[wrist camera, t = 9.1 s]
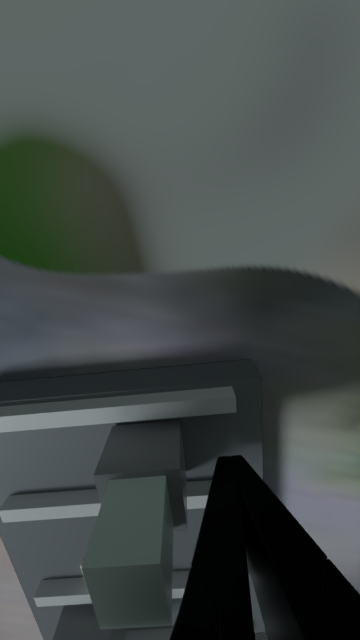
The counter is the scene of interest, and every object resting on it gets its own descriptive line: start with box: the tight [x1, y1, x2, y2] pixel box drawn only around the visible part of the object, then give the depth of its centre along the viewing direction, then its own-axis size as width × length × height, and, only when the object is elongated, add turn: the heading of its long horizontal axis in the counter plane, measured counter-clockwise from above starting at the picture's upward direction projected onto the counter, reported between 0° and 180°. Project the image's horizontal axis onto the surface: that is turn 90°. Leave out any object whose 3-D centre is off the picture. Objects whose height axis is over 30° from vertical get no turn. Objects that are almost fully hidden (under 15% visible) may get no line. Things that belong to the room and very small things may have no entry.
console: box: [0, 359, 265, 640], centre depth 11 cm, size 14×11×2 cm
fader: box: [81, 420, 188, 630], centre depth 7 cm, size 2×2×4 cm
